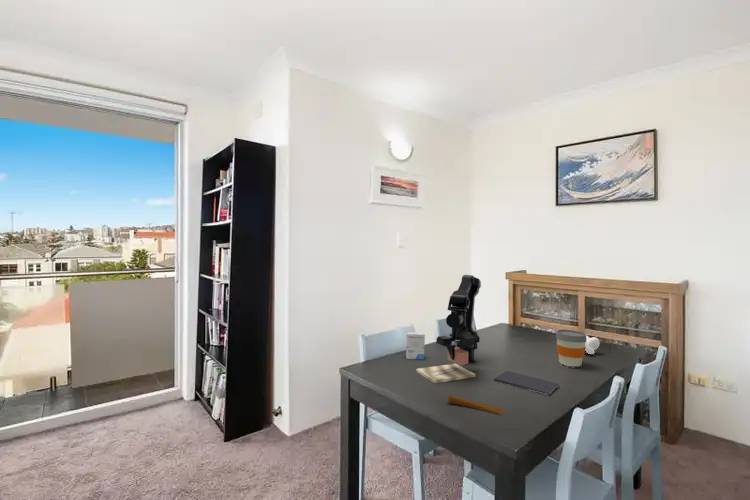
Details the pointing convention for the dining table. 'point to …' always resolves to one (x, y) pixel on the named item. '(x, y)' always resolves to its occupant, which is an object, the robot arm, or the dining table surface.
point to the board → (445, 373)
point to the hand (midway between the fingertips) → (457, 359)
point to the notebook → (526, 382)
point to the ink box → (415, 345)
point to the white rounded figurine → (591, 344)
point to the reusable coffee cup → (570, 347)
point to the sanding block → (459, 356)
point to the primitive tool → (475, 404)
